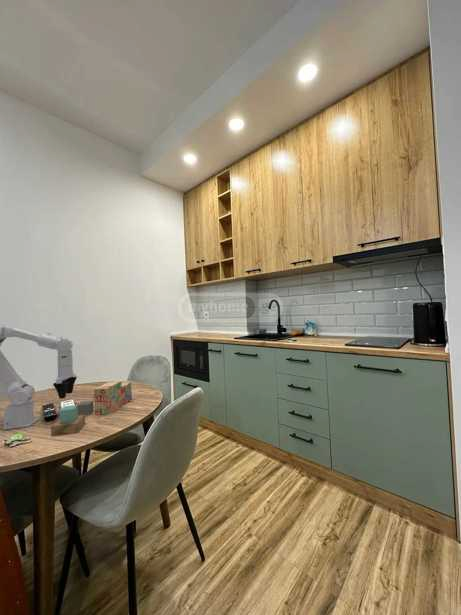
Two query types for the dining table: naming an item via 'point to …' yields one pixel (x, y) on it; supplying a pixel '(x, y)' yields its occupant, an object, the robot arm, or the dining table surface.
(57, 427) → the walnut block
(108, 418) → the dining table surface
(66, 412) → the teal cube
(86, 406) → the charcoal cube
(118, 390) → the stack of blocks
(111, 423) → the dining table surface
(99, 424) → the dining table surface
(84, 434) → the dining table surface
